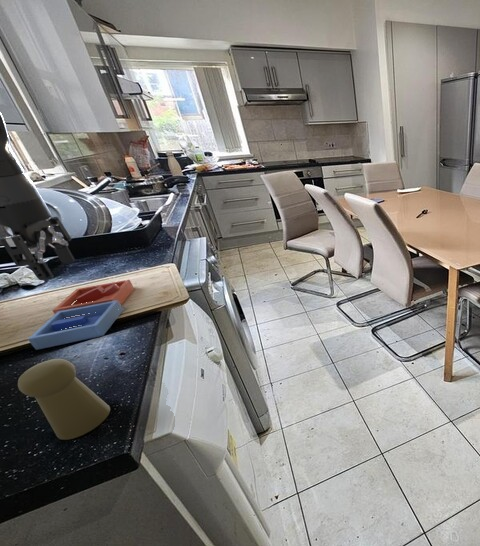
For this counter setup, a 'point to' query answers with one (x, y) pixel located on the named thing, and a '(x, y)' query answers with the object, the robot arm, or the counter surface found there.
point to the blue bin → (51, 338)
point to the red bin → (119, 295)
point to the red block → (97, 293)
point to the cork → (63, 398)
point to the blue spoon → (73, 322)
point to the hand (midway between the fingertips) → (58, 270)
